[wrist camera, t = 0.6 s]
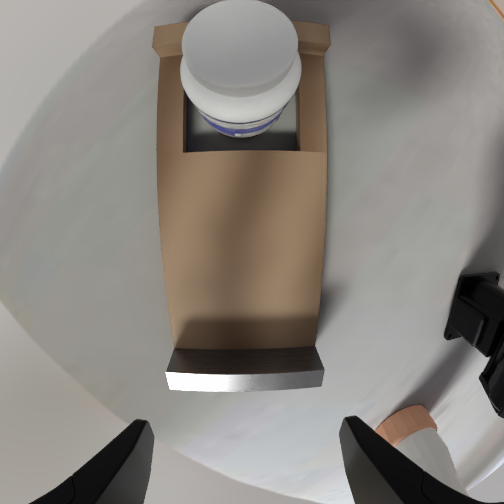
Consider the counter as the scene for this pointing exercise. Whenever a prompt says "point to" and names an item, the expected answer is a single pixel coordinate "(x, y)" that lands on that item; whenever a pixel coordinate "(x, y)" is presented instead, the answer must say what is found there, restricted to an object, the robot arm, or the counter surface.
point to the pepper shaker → (421, 443)
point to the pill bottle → (240, 65)
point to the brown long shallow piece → (243, 238)
